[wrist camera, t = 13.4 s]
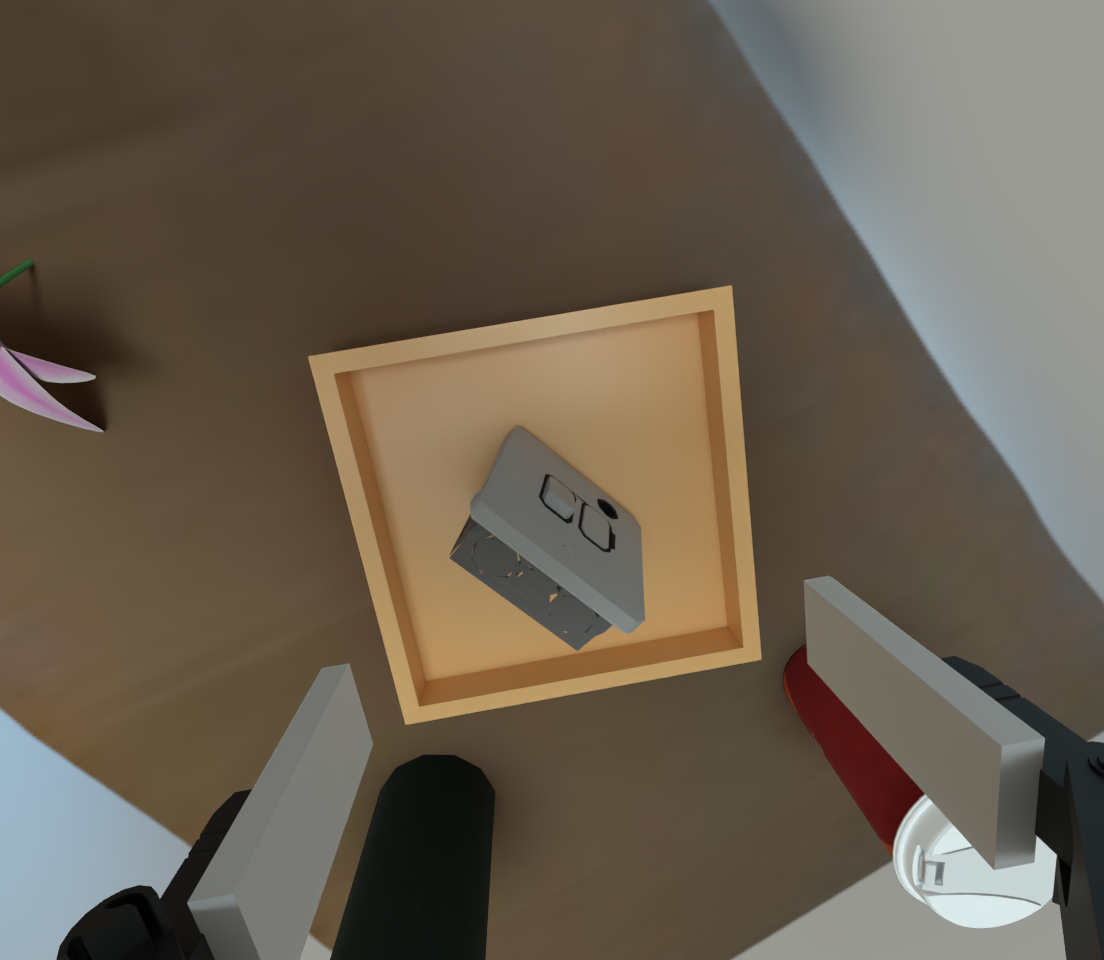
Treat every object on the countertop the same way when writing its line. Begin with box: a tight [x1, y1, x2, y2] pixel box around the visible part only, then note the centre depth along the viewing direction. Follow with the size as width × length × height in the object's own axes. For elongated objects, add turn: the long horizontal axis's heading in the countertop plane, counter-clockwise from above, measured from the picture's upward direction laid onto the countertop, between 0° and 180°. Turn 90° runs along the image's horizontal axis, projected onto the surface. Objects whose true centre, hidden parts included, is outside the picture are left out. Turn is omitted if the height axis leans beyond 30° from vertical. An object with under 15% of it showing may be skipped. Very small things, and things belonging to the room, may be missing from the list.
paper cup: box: [783, 644, 1057, 928], centre depth 30 cm, size 8×8×14 cm
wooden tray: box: [308, 285, 762, 725], centre depth 31 cm, size 21×21×4 cm
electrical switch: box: [450, 426, 645, 651], centre depth 28 cm, size 9×5×9 cm, turn 50°
